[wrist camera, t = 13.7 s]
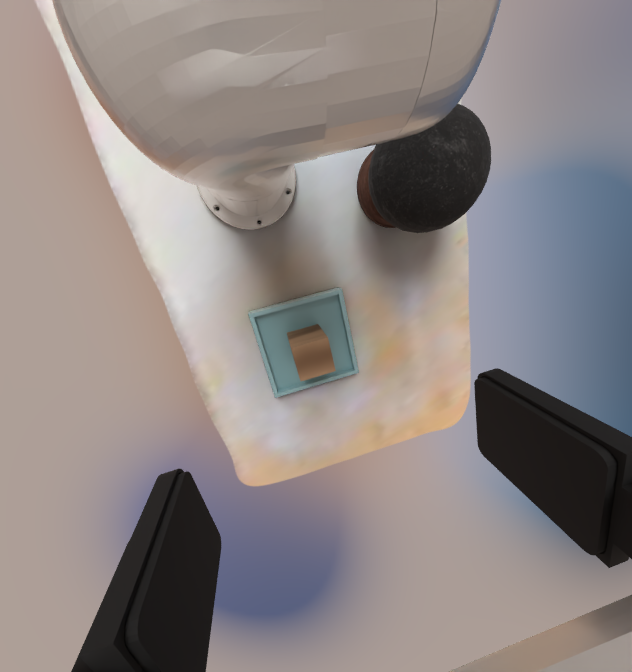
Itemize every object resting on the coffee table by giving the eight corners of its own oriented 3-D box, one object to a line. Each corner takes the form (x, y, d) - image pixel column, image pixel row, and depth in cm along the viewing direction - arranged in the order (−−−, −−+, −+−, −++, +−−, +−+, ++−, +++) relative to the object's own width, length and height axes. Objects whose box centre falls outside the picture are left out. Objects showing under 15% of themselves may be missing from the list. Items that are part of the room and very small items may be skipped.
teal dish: (248, 311, 43) (248, 314, 42) (338, 287, 45) (341, 289, 43) (274, 391, 48) (275, 397, 46) (355, 367, 49) (358, 372, 48)
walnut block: (286, 332, 44) (291, 348, 38) (317, 323, 45) (327, 337, 38) (294, 362, 46) (300, 381, 40) (325, 353, 47) (335, 371, 40)
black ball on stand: (338, 151, 39) (381, 99, 25) (426, 119, 40) (516, 52, 26) (364, 247, 44) (414, 249, 30) (443, 217, 45) (528, 204, 31)
